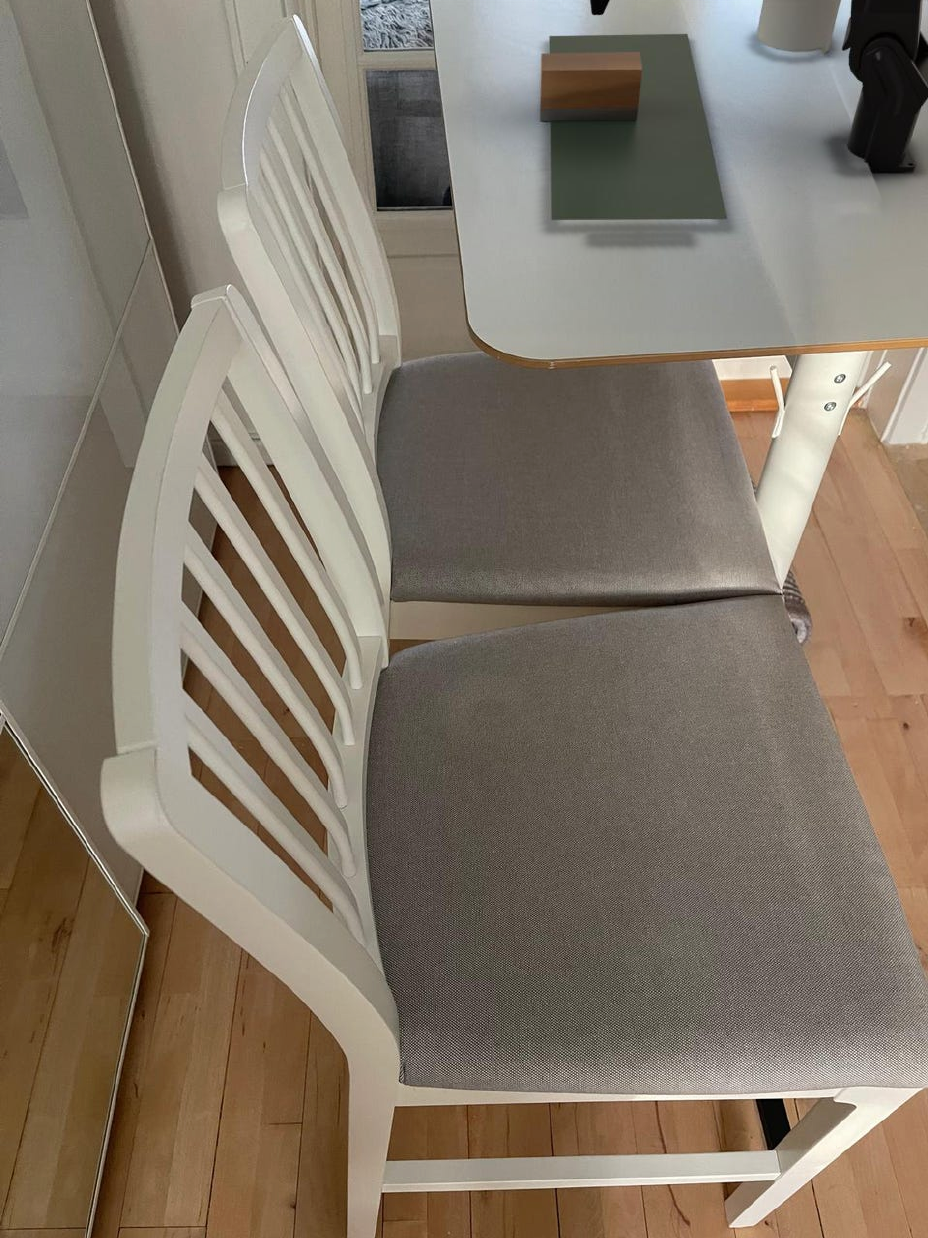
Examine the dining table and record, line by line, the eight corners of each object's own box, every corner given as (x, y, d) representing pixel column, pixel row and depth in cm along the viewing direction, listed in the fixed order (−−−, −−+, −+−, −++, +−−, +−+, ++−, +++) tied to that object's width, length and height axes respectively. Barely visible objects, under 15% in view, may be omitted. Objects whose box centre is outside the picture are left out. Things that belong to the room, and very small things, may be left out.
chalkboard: (725, 228, 90) (727, 218, 89) (550, 229, 91) (551, 219, 90) (686, 42, 115) (687, 33, 114) (549, 44, 116) (549, 35, 115)
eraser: (636, 120, 102) (642, 69, 98) (540, 121, 102) (541, 70, 98) (634, 102, 104) (639, 51, 100) (540, 103, 105) (541, 53, 101)
